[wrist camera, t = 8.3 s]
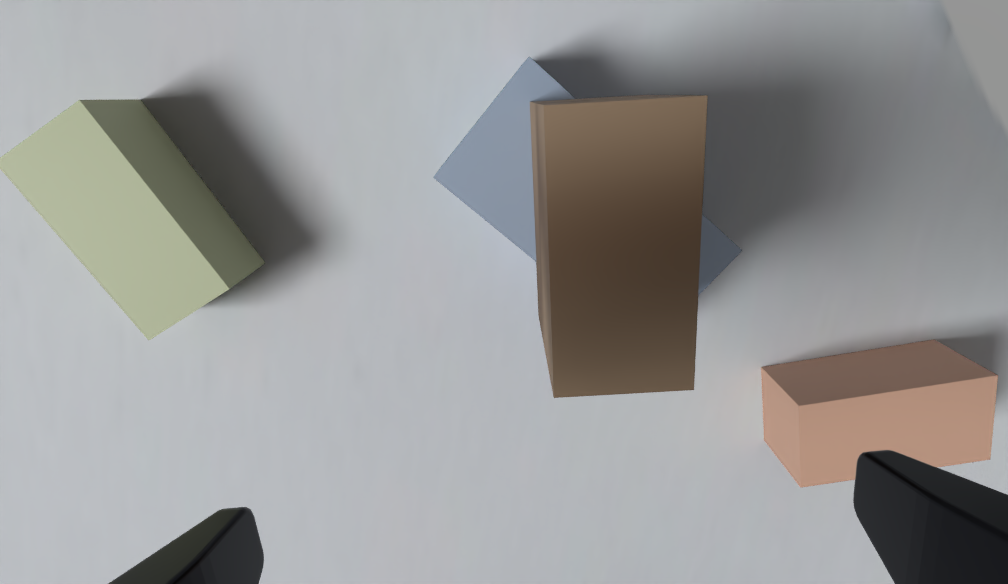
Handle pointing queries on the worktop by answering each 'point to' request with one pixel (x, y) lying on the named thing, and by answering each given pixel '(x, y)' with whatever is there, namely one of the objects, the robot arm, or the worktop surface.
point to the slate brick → (531, 170)
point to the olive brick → (131, 210)
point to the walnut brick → (618, 240)
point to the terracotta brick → (877, 409)
